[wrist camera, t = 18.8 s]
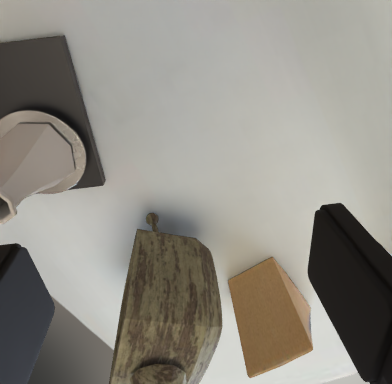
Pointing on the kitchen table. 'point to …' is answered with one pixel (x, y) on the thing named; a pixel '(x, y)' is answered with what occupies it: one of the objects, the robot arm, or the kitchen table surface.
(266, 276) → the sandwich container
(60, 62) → the scale
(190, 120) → the kitchen table surface
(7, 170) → the flask
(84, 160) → the weighing pan
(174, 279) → the tabletop clock
